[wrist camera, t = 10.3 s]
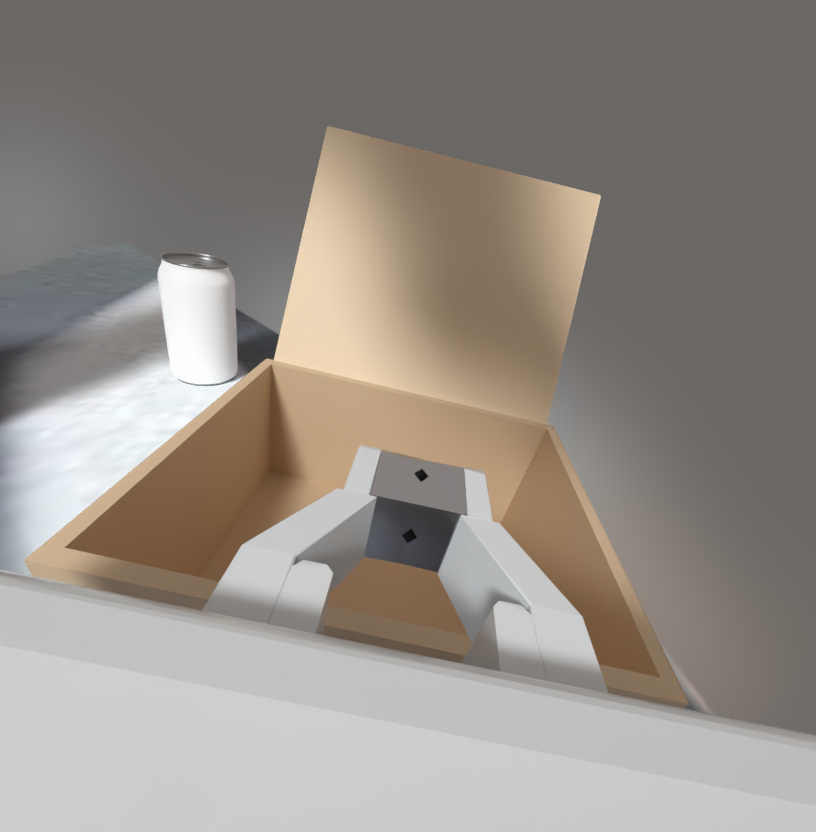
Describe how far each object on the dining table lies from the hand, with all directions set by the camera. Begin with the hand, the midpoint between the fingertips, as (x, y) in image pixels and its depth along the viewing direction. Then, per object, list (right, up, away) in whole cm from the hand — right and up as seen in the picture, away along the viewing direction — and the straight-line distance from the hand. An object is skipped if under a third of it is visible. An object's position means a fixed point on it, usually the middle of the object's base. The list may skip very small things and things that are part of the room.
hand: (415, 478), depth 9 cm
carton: (-3, -9, +14) cm, 17 cm away
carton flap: (+2, +11, +16) cm, 19 cm away
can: (-23, +6, +31) cm, 39 cm away
